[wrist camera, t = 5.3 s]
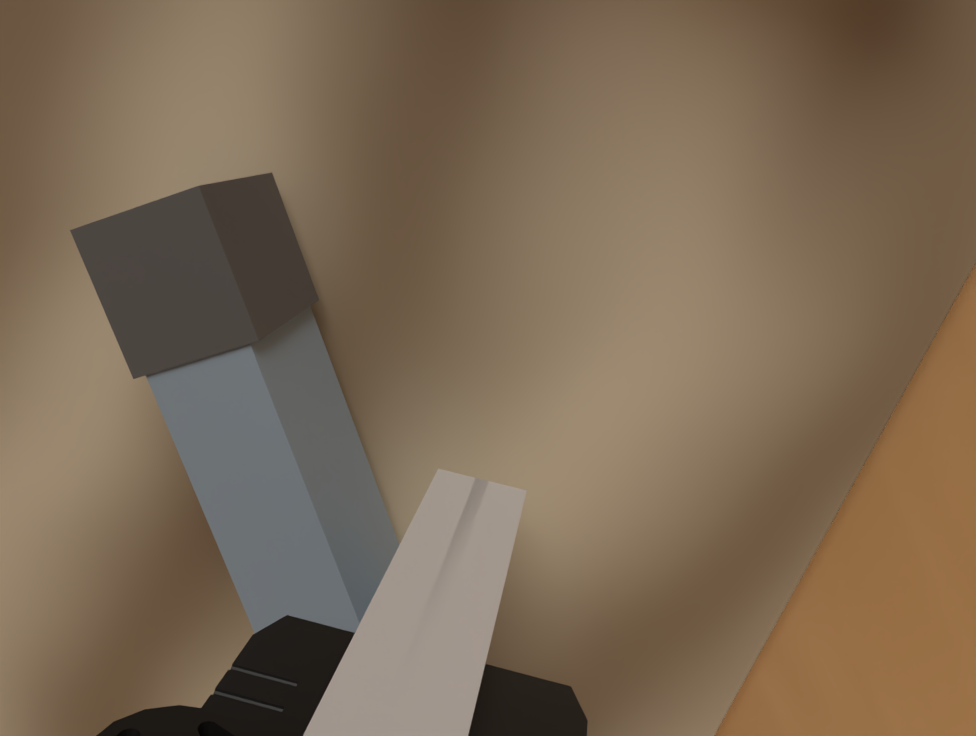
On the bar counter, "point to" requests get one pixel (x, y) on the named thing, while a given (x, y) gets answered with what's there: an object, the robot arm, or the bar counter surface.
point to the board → (487, 309)
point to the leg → (247, 394)
